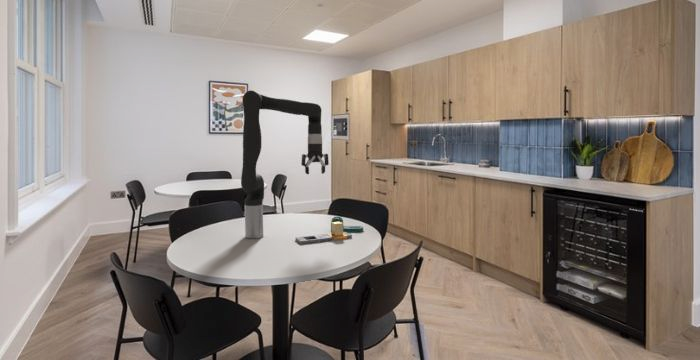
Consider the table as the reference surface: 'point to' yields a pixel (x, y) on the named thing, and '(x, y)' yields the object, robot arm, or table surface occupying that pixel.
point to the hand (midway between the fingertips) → (315, 173)
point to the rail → (321, 238)
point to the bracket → (347, 228)
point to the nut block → (337, 229)
